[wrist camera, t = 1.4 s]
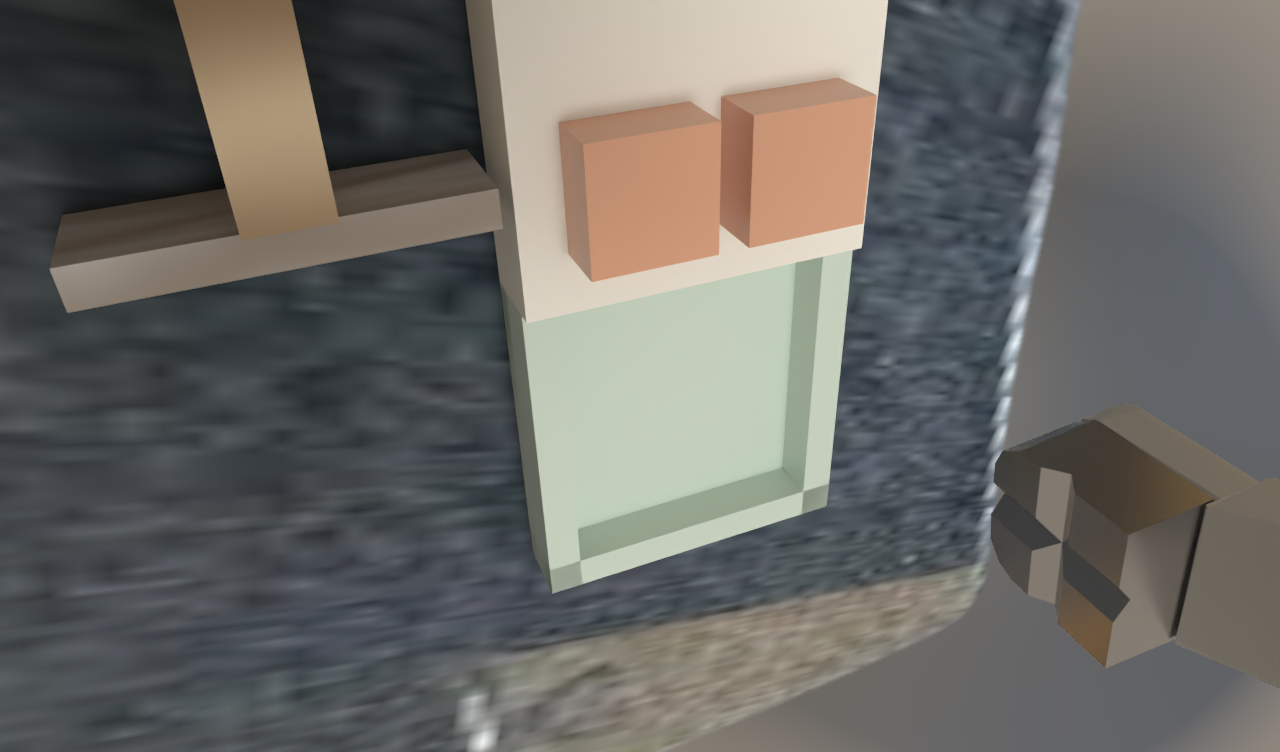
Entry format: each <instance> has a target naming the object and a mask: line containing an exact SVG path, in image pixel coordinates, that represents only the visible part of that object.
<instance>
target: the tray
mask: <svg viewBox="0 0 1280 752" xmlns="http://www.w3.org/2000/svg"><path fill="white" fill-rule="evenodd" d="M852 251H853V250H850V251H846V252H841V253H837V254H832V255H828V256H824V257H819V258H815V259H810V260H806V261H801V262H797V263H792V264H788V265H784V266H779V267H775V268H770V269H766V270H761V271H757V272H752V273H748V274H744V275H739V276H735V277H730V278H726V279H721V280H717V281H712V282H708V283H704V284H699V285H695V286H690V287H686V288H681V289H677V290H673V291H668V292H664V293H659V294H655V295H650V296H646V297H641V298H637V299H633V300H628V301H624V302H619V303H615V304H610V305H606V306H601V307H597V308H593V309H588V310H584V311H579V312H575V313H570V314H566V315H562V316H557V317H553V318H548V319H544V320H539V321H535V322H530V323H526V322H525V320H524V319H523V317H522V316H521V314H520V313H519V311H518V310H517V308H516V306H515V305H514V303H513V302H512V300H511V299H510V297H509V296H508V294H507V293H506V291H505V290H504V288H503V286H502V285H501V283H500V288H501V296H502V305H503V313H504V321H505V329H506V337H507V345H508V354H509V362H510V370H511V378H512V386H513V394H514V403H515V411H516V419H517V427H518V435H519V443H520V452H521V460H522V468H523V476H524V484H525V492H526V501H527V509H528V517H529V525H530V533H531V541H532V550H533V553H534V555H535V557H536V559H537V562H538V564H539V566H540V568H541V570H542V572H543V574H544V576H545V579H546V581H547V583H548V585H549V587H550V589H551V591H552V594H553V593H556V592H559V591H562V590H565V589H568V588H571V587H574V586H578V585H581V584H584V583H587V582H590V581H593V580H596V579H600V578H603V577H606V576H609V575H612V574H615V573H618V572H621V571H625V570H628V569H631V568H634V567H637V566H640V565H643V564H647V563H650V562H653V561H656V560H659V559H662V558H665V557H668V556H672V555H675V554H678V553H681V552H684V551H687V550H690V549H693V548H697V547H700V546H703V545H706V544H709V543H712V542H715V541H719V540H722V539H725V538H728V537H731V536H734V535H737V534H740V533H744V532H747V531H750V530H753V529H756V528H759V527H762V526H765V525H769V524H772V523H775V522H778V521H781V520H784V519H787V518H791V517H794V516H797V515H800V514H803V513H806V512H809V511H812V510H816V509H819V508H822V507H825V506H827V497H828V487H829V477H830V467H831V457H832V447H833V438H834V428H835V418H836V408H837V398H838V388H839V379H840V369H841V359H842V349H843V339H844V330H845V320H846V310H847V300H848V290H849V280H850V271H851V261H852Z"/></svg>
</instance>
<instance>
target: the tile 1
mask: <svg viewBox="0 0 1280 752" xmlns="http://www.w3.org/2000/svg"><path fill="white" fill-rule="evenodd" d="M558 125H559V138H560V151H561V164H562V176H563V189H564V202H565V215H566V228H567V241H568V254H569V255H570V257H571V258H572V259H573V260H574V261H575V263H576V264H577V265H578V266H579V267H580V269H581V270H582V271H583V272H584V274H585V275H586V276H587V277H588V278H589V280H590V281H591V282H595V281H600V280H604V279H609V278H614V277H618V276H623V275H628V274H632V273H637V272H641V271H646V270H651V269H655V268H660V267H665V266H669V265H674V264H678V263H683V262H688V261H692V260H697V259H702V258H706V257H711V256H715V255H719V231H720V175H721V121H720V120H719V119H717V118H716V117H714V116H712V115H711V114H709V113H708V112H706V111H705V110H703V109H701V108H700V107H698V106H697V105H695V104H693V103H692V102H690V101H689V102H683V103H677V104H670V105H664V106H658V107H651V108H645V109H639V110H633V111H626V112H620V113H614V114H607V115H601V116H595V117H588V118H582V119H576V120H570V121H563V122H558Z"/></svg>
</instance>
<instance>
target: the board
mask: <svg viewBox="0 0 1280 752" xmlns="http://www.w3.org/2000/svg"><path fill="white" fill-rule="evenodd" d="M465 2H466V10H467V19H468V27H469V35H470V43H471V51H472V59H473V68H474V76H475V84H476V92H477V100H478V108H479V117H480V125H481V133H482V141H483V149H484V158H485V166H486V174H487V175H488V176H489V178H490V179H491V180H492V181H493V183H494V184H495V185H496V186H497V188H498V190H499V199H500V208H501V216H502V225H503V229H501V230H496V231H494V239H495V247H496V256H497V264H498V272H499V280H500V283H501V285H502V286H503V288H504V290H505V291H506V293H507V294H508V296H509V297H510V299H511V300H512V302H513V303H514V305H515V306H516V308H517V310H518V311H519V313H520V314H521V316H522V317H523V319H524V320H525V322H526V323H530V322H535V321H539V320H544V319H548V318H553V317H557V316H562V315H566V314H570V313H575V312H579V311H584V310H588V309H593V308H597V307H601V306H606V305H610V304H615V303H619V302H624V301H628V300H633V299H637V298H641V297H646V296H650V295H655V294H659V293H664V292H668V291H673V290H677V289H681V288H686V287H690V286H695V285H699V284H704V283H708V282H712V281H717V280H721V279H726V278H730V277H735V276H739V275H744V274H748V273H752V272H757V271H761V270H766V269H770V268H775V267H779V266H784V265H788V264H792V263H797V262H801V261H806V260H810V259H815V258H819V257H824V256H828V255H832V254H837V253H841V252H846V251H850V250H855V249H859V248H862V239H863V230H864V221H863V224H859V225H854V226H850V227H845V228H840V229H836V230H831V231H827V232H822V233H817V234H813V235H808V236H803V237H799V238H794V239H790V240H785V241H780V242H776V243H771V244H766V245H762V246H757V247H753V248H748V247H747V246H746V245H745V244H743V243H742V242H741V241H740V240H739V239H737V238H736V237H735V236H734V235H732V234H731V233H730V232H729V231H728V230H726V229H725V228H724V227H723V226H721V225H720V231H719V255H715V256H711V257H706V258H702V259H697V260H692V261H688V262H683V263H678V264H674V265H669V266H665V267H660V268H655V269H651V270H646V271H641V272H637V273H632V274H628V275H623V276H618V277H614V278H609V279H604V280H600V281H595V282H591V281H590V280H589V278H588V277H587V276H586V275H585V274H584V272H583V271H582V270H581V269H580V267H579V266H578V265H577V264H576V263H575V261H574V260H573V259H572V258H571V257H570V255H569V254H568V241H567V228H566V215H565V202H564V189H563V176H562V164H561V151H560V138H559V125H558V122H563V121H570V120H576V119H582V118H588V117H595V116H601V115H607V114H614V113H620V112H626V111H633V110H639V109H645V108H651V107H658V106H664V105H670V104H677V103H683V102H689V101H690V102H692V103H693V104H695V105H697V106H698V107H700V108H701V109H703V110H705V111H706V112H708V113H709V114H711V115H712V116H714V117H716V118H717V119H719V120H720V121H721V96H727V95H733V94H740V93H746V92H752V91H758V90H765V89H771V88H777V87H784V86H790V85H796V84H802V83H809V82H815V81H821V80H828V79H834V78H841V79H843V80H845V81H847V82H849V83H852V84H854V85H856V86H858V87H860V88H863V89H865V90H867V91H869V92H871V93H874V94H876V95H877V99H878V90H879V80H880V71H881V62H882V52H883V43H884V34H885V24H886V15H887V6H888V0H465ZM876 108H877V100H876ZM875 118H876V109H875ZM875 118H874V127H875ZM873 136H874V128H873ZM872 146H873V137H872ZM872 146H871V155H872ZM870 164H871V156H870ZM869 174H870V165H869ZM868 183H869V175H868ZM867 192H868V184H867ZM866 202H867V193H866ZM865 211H866V203H865ZM864 220H865V212H864Z"/></svg>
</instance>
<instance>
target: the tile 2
mask: <svg viewBox="0 0 1280 752" xmlns="http://www.w3.org/2000/svg"><path fill="white" fill-rule="evenodd" d="M876 100H877V95H876V94H874V93H871V92H869V91H867V90H865V89H863V88H860V87H858V86H856V85H854V84H852V83H849V82H847V81H845V80H843V79H841V78H834V79H828V80H821V81H815V82H809V83H802V84H796V85H790V86H784V87H777V88H771V89H765V90H758V91H752V92H746V93H740V94H733V95H727V96H721V175H720V225H721V226H723V227H724V228H725V229H726V230H728V231H729V232H730V233H731V234H732V235H734V236H735V237H736V238H737V239H739V240H740V241H741V242H742V243H743V244H745V245H746V246H747V247H748V248H753V247H757V246H762V245H766V244H771V243H776V242H780V241H785V240H790V239H794V238H799V237H803V236H808V235H813V234H817V233H822V232H827V231H831V230H836V229H840V228H845V227H850V226H854V225H859V224H863V221H864V212H865V203H866V193H867V184H868V175H869V165H870V156H871V146H872V137H873V128H874V118H875V109H876Z"/></svg>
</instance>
